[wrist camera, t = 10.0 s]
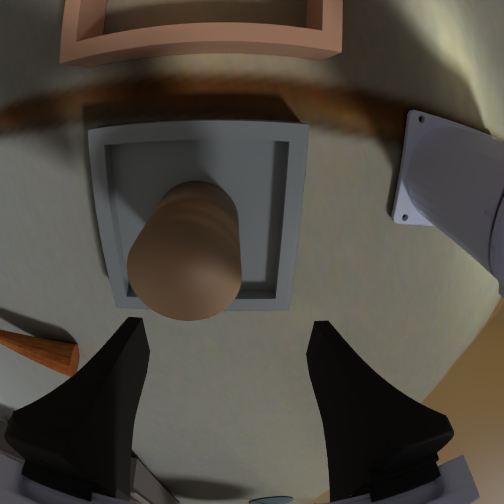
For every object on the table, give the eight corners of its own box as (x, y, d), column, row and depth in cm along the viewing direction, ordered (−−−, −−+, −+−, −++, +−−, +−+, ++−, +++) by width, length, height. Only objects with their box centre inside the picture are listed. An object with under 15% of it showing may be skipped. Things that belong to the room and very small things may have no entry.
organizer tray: (79, 484, 52) (74, 512, 44) (-3, 411, 33) (-19, 450, 25) (187, 503, 54) (186, 534, 45) (141, 449, 35) (134, 505, 26)
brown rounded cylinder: (239, 180, 17) (243, 221, 11) (237, 258, 19) (240, 321, 14) (153, 181, 16) (118, 221, 11) (160, 257, 19) (137, 318, 13)
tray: (301, 122, 16) (309, 124, 14) (284, 293, 22) (288, 310, 20) (101, 126, 15) (87, 129, 14) (124, 291, 21) (116, 307, 19)
